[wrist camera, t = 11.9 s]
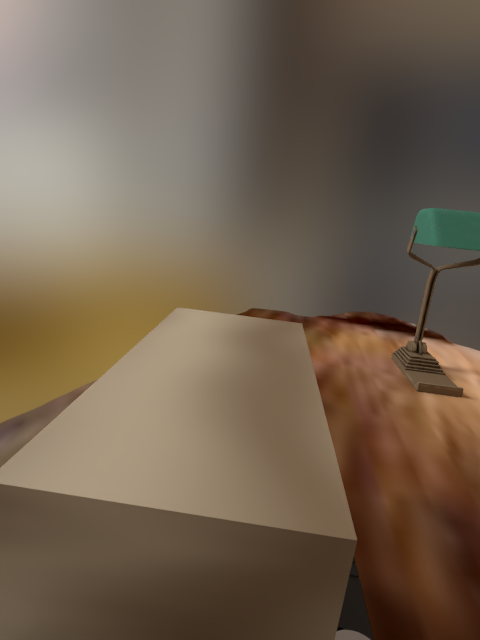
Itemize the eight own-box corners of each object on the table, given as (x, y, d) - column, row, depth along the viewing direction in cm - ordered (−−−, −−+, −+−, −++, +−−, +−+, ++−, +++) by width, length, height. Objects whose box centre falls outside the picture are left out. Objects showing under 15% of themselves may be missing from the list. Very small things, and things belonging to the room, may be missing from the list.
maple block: (12, 909, 9) (-15, 481, 6) (162, 515, 20) (177, 307, 17) (260, 964, 8) (357, 540, 6) (269, 532, 20) (301, 323, 17)
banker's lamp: (442, 365, 96) (478, 216, 87) (484, 403, 76) (537, 214, 67) (376, 356, 97) (405, 209, 88) (400, 391, 77) (441, 205, 68)
